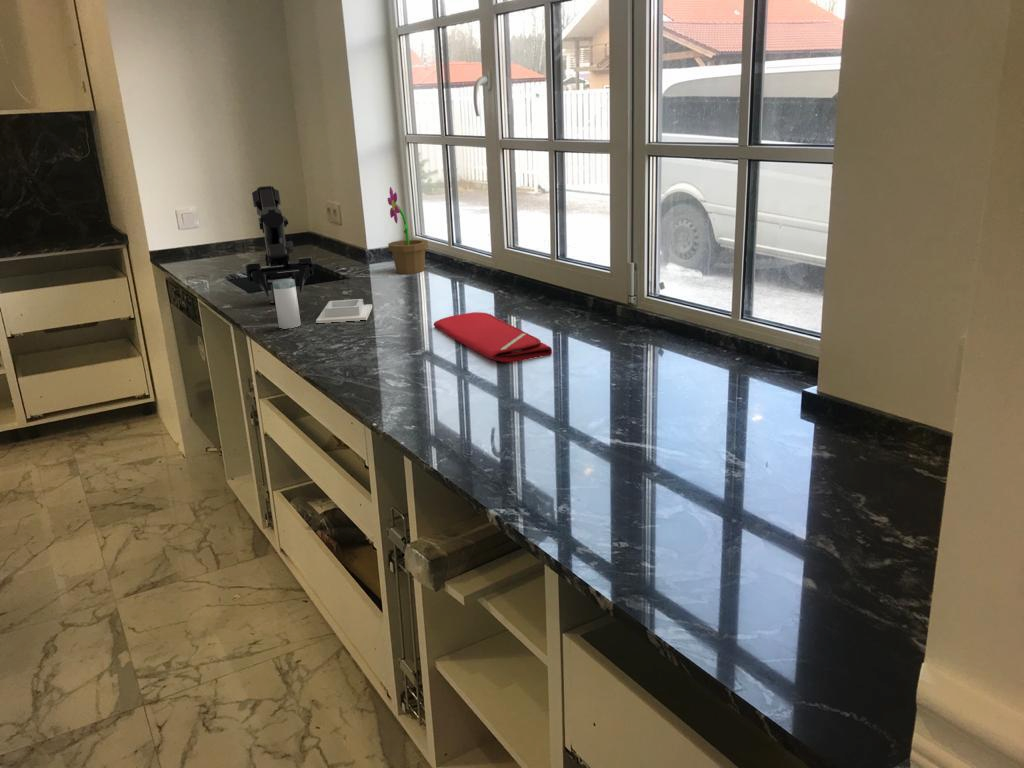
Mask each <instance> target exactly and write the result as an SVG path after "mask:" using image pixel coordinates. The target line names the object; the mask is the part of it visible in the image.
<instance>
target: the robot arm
mask: <svg viewBox="0 0 1024 768" xmlns="http://www.w3.org/2000/svg"><path fill="white" fill-rule="evenodd" d="M251 198H252V203H253V208H256V214H257V215H258V219H257V220H258V227H259V231H262V234H264V243H265V249H266V253H265V257H264V262H265V265H263V266H261V264H260V262H250V263H246V265H245V271H246V275H247V282H250V283H253V284H255V285H258V287H260V289H261V290H262V291H263V293H265V296H266V298H267V297H269V290H268V286H269V285H270V289H271V296H272V300H271V301H270V303H275V297H274V290H273V284H272V282H273V281H275V280H280V279H294V280H295V282H297V280H296V273H295V272H298V281H299V292H300V293H302V292H303V290H304V284H305V283H306V280H307V279H308V278H310V276H313V275H315V270H314V264H315V263H314V261H313V260H314V259H313V258H312V257H311V256H308V257H307V256H306V257H299V258H298V263H291V261H290V254H294V251H295V250H294V244H293V241H292V240H287V241H286V235H285V229H286V228H287V225H289V220H288V219H287V218H286V217H285V215H283V214H282V210H281V209H280V207H279V206H280V205H281V197H280V191H279V190H278V189H276V188H274V185H273V186H272V185H263V186H259V187H257V188H256V190H254V191H252V192H251ZM270 303H269V304H270Z"/></svg>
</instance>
